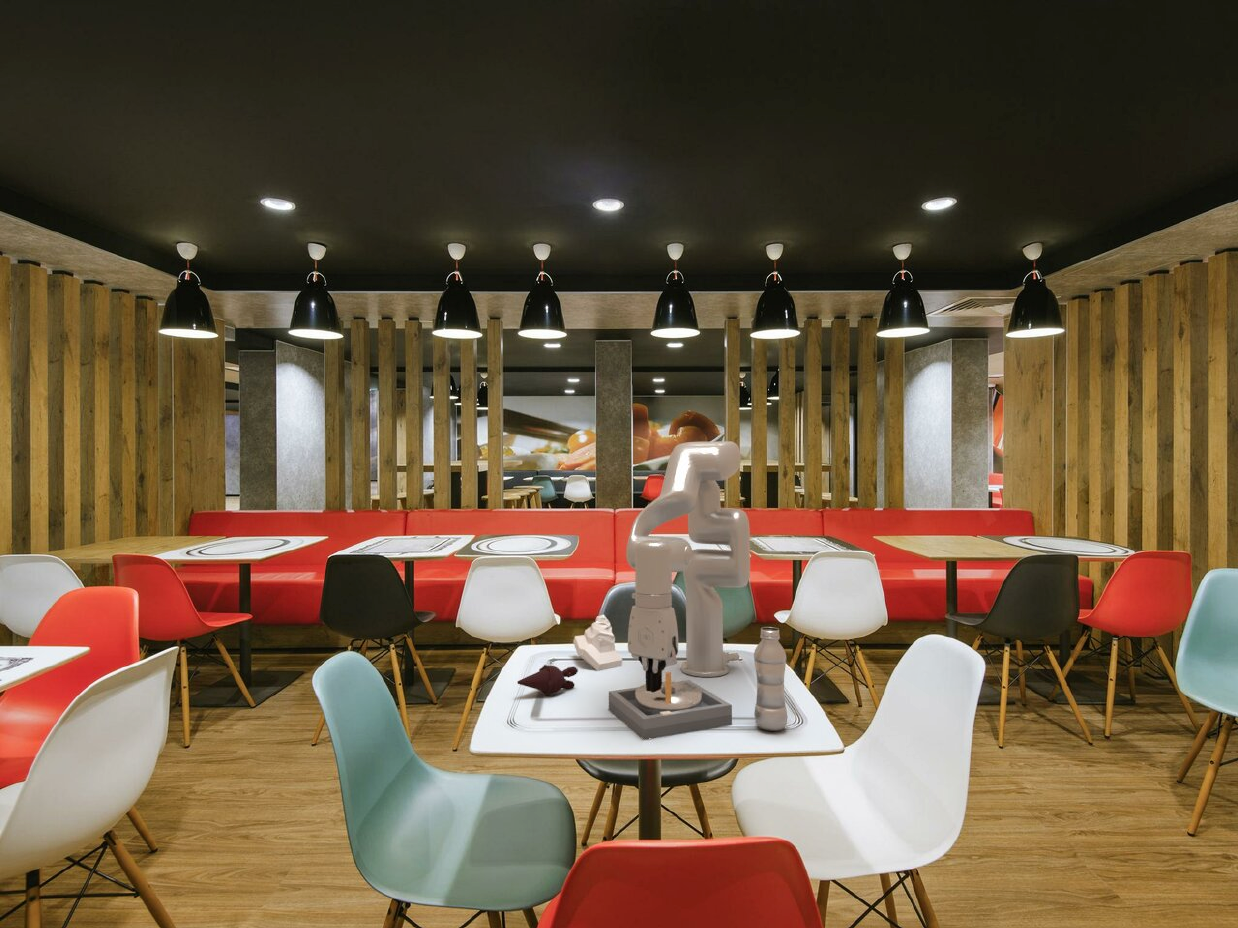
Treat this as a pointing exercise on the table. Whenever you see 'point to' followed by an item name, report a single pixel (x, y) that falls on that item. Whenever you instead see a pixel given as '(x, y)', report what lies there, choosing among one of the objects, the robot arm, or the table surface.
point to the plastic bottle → (770, 681)
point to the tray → (670, 714)
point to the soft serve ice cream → (598, 645)
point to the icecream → (550, 679)
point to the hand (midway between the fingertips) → (653, 689)
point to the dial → (668, 697)
